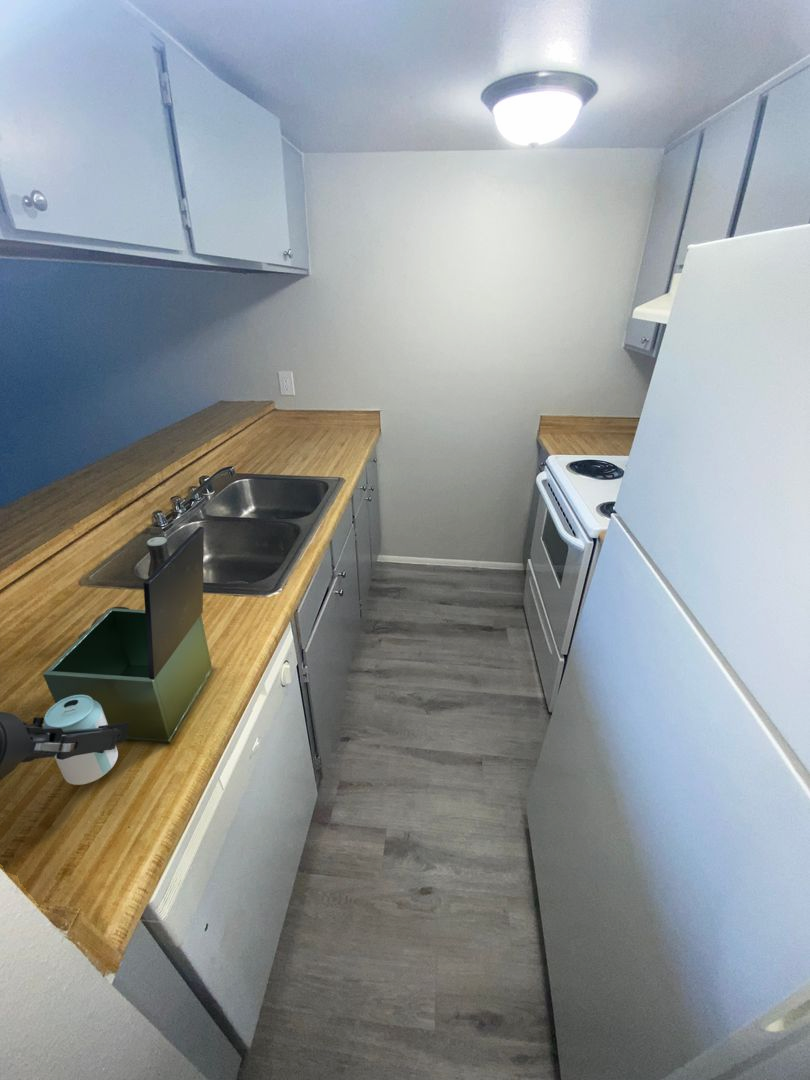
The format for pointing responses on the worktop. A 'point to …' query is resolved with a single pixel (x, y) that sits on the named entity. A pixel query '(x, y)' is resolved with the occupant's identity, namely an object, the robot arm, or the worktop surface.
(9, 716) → the robot arm
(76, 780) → the can
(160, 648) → the box lid
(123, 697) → the green open box
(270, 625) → the worktop surface
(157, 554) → the sauce bottle
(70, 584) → the worktop surface
